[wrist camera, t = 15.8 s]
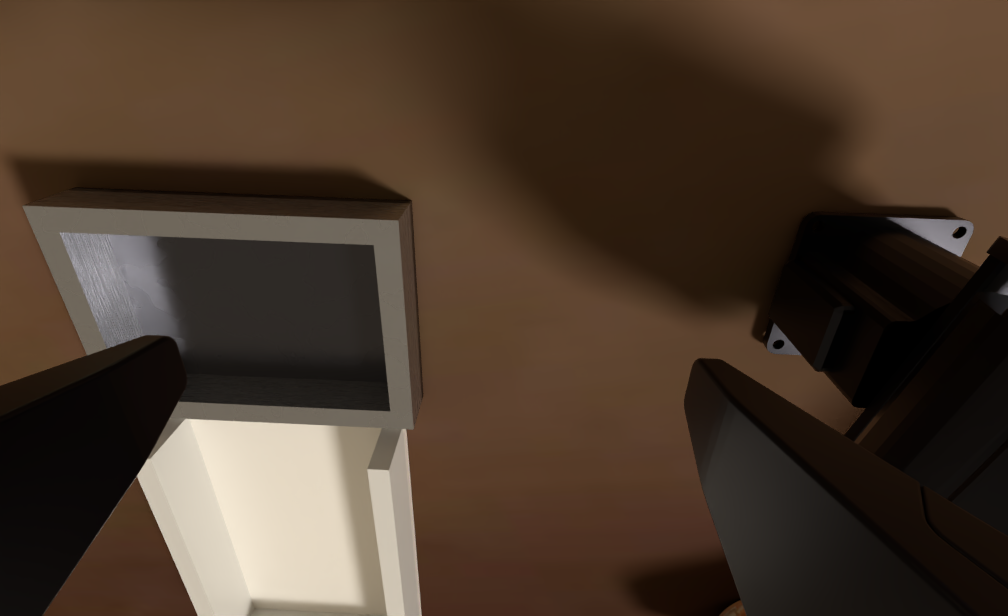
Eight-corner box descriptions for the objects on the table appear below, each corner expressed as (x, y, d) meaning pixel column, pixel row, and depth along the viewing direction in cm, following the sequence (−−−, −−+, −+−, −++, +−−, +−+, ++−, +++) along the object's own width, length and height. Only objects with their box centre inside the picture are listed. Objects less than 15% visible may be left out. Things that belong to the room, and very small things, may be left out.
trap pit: (411, 200, 21) (398, 220, 19) (423, 395, 26) (413, 429, 23) (74, 187, 21) (22, 205, 19) (148, 383, 26) (113, 415, 24)
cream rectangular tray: (404, 409, 26) (388, 462, 23) (421, 616, 35) (411, 675, 32) (173, 399, 26) (125, 449, 23) (247, 607, 35) (219, 664, 32)
